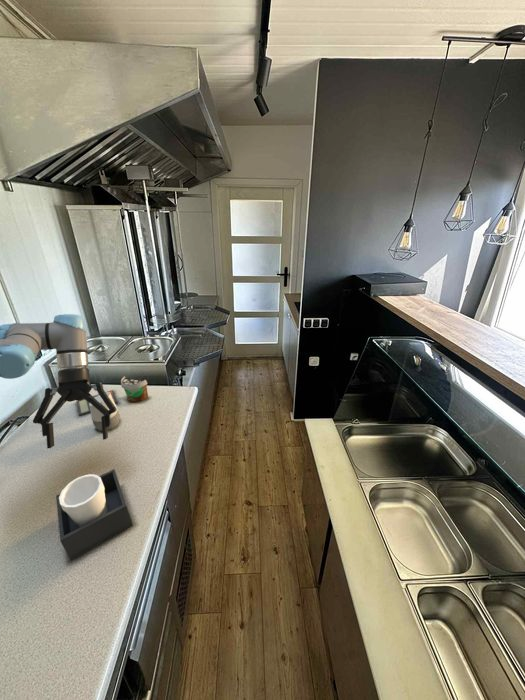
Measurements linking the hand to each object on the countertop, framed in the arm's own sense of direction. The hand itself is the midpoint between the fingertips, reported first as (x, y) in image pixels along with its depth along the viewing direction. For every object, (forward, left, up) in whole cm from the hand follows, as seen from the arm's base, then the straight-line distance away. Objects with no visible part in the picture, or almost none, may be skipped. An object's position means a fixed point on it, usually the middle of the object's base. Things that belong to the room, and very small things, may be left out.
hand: (78, 442), depth 81 cm
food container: (-39, +22, -18) cm, 48 cm away
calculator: (-47, +8, -17) cm, 51 cm away
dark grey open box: (+13, -1, -17) cm, 22 cm away
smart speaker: (-28, +9, -18) cm, 34 cm away
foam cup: (+14, -2, -17) cm, 22 cm away
